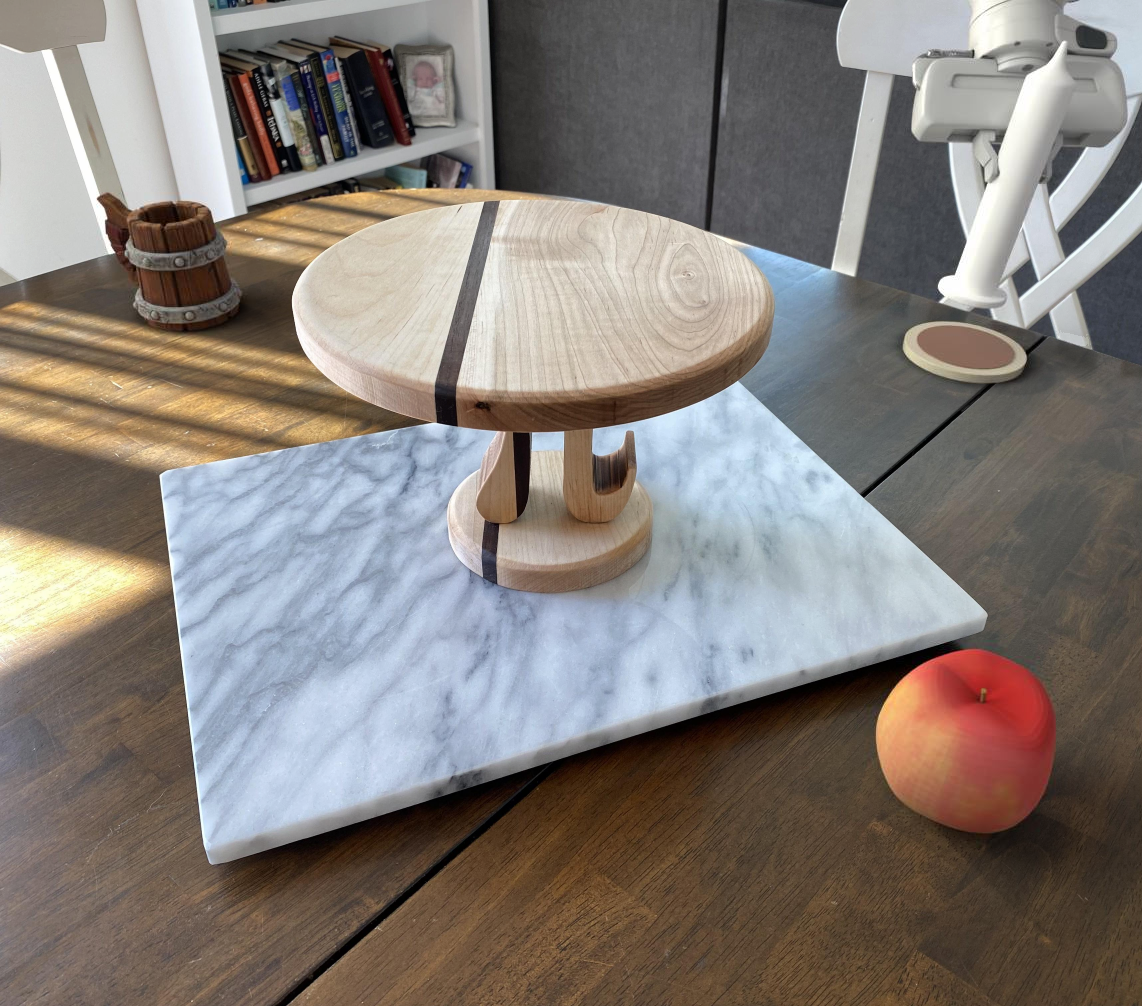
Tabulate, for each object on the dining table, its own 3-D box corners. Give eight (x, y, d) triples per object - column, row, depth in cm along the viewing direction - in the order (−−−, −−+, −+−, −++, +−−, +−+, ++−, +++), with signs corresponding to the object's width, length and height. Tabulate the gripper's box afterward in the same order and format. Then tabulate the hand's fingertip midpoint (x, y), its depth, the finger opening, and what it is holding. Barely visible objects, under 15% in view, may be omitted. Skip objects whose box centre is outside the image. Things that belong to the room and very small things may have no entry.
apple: (914, 713, 63) (953, 603, 57) (1052, 803, 57) (1111, 692, 51) (831, 793, 58) (865, 682, 52) (974, 901, 52) (1030, 790, 46)
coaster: (970, 324, 112) (973, 314, 111) (1049, 374, 102) (1053, 363, 101) (879, 339, 108) (881, 328, 107) (951, 392, 98) (955, 382, 97)
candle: (1018, 303, 100) (1122, 48, 85) (977, 313, 96) (1078, 50, 82) (965, 277, 104) (1054, 32, 90) (923, 286, 101) (1009, 33, 86)
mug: (208, 341, 103) (156, 205, 95) (110, 340, 108) (53, 211, 100) (269, 300, 112) (227, 173, 104) (177, 300, 117) (129, 179, 109)
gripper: (923, 29, 92) (924, 160, 90) (1133, 35, 91) (1139, 168, 89) (901, 68, 98) (902, 191, 96) (1099, 74, 97) (1103, 199, 96)
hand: (1018, 180), depth 93 cm, fingers closed on candle, 3 cm apart
